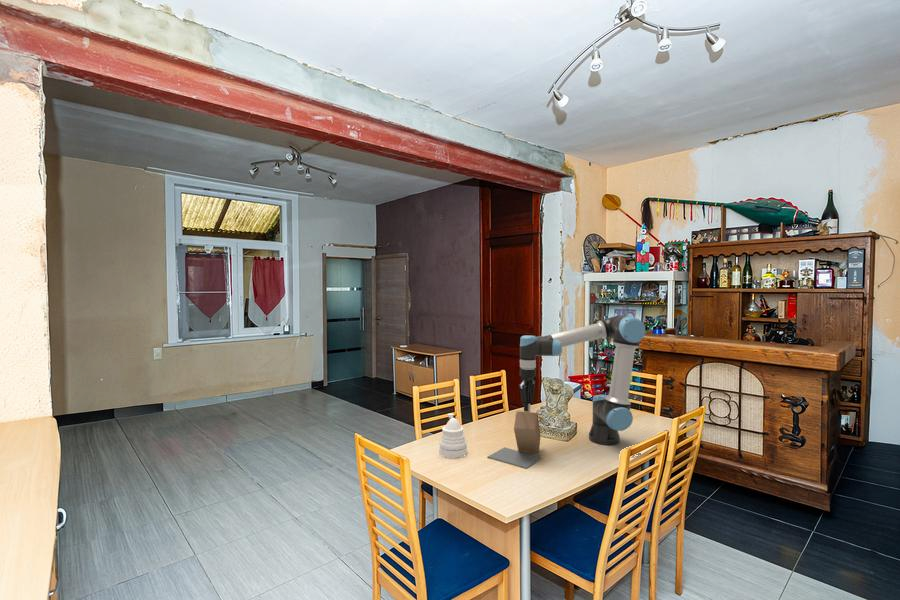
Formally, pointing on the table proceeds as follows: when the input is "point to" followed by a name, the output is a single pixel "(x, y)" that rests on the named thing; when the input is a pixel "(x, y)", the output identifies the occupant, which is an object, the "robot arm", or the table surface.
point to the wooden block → (527, 431)
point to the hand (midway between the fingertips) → (527, 417)
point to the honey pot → (453, 439)
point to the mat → (515, 457)
